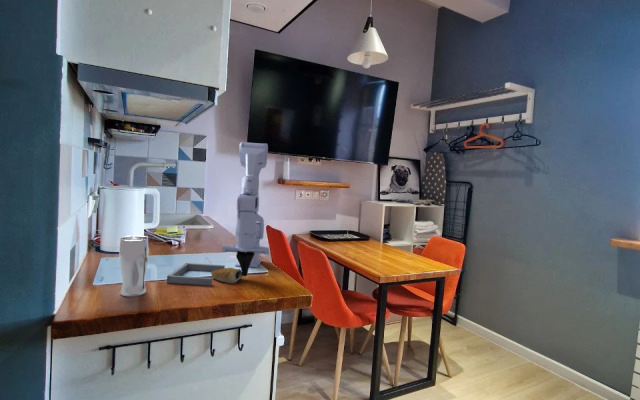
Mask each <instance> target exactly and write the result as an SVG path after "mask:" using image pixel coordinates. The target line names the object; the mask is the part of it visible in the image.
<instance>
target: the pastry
mask: <svg viewBox="0 0 640 400" xmlns="http://www.w3.org/2000/svg"><path fill="white" fill-rule="evenodd" d="M211 278H212V279H214V280H216V281H218V282H219V281H220V282H222V283H226V284H235V283H237V282H238V281H239V280H241V279H242V278H243V276H242V271H241V268H238V269H237V268H234V267H225V268H224V269H219V270H214V271H211Z"/></svg>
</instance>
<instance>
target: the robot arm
mask: <svg viewBox="0 0 640 400" xmlns="http://www.w3.org/2000/svg"><path fill="white" fill-rule="evenodd" d="M268 146H269V145H268V143H258V142H257V143H256V142H247V141H246V142H244V141H241V142H240V143H239V148H238V150H239V151H238V152H239V153H238V154H239V155H238V156H239V163H240V166H241V167H243V168H245V175H244V176H243V177H242V178H241V182H240V190H239V195H238V196H237V199H236V211H237V214H236V215H237V216H236V217H237V218H236V225H235V238H236V244H223V245H221V246H222V247H221V253H236V256H235V257H236V259H237V262H236V263H235V265H234V266H236V267H240V270H241V272H242V277H247V275H248V273H249V269H250V268H258V267H259V266H260V264H261V262H262V261H263V260H262V259H261V258H260V255H267V256H269V254H270V247H266V246H261V245H260V244H261V243H260V240H261V241H262V240H263V239H264V231H265V230H264V229H265V224H264V222H265V219H264V218H263V217H262V216H261V215H260V214H259V213H258V212H259V211H260V210H259V208H260V197H259V190H260V173H261V170H262V169H264V168H267V164H268V163H267V161H268V153H269V152H268V150H269V147H268ZM258 265H259V266H258Z"/></svg>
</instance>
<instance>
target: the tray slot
mask: <svg viewBox="0 0 640 400" xmlns="http://www.w3.org/2000/svg"><path fill="white" fill-rule="evenodd" d="M224 268H226V267H225V265H221V264H207V263H190V262H185V263H184V264H183V265H181V266H179V267H178V268H177V269H175V270H174V271H172V272H171V273H169V274H168V275H167V276H166V283H167V284H180V285H193V286H194V285H196V286H208V287H209V286H212V285H213V277H200V276H184V275H183V274H184V273H185V272H187V271H199V272H200V271H203V272H212V271H214V270H219V269H224Z"/></svg>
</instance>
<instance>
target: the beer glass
mask: <svg viewBox="0 0 640 400" xmlns="http://www.w3.org/2000/svg"><path fill="white" fill-rule="evenodd" d="M119 239H120V240H119V252H118V253H119V255H118V257H119V258H118V259H119V266H120V271H121V277H122V284H121V289H120V295H121V296H122V297H129V298H132V297H134V298H135V297H139V296H143V295H145V294H146V292H147V288H146V284H145V283H146V282H145V277H146V271H147V267H148V261H149V250H150V249H149V237H148V236H145V235H144V236H143V235H126V236H123V237H121V238H119Z"/></svg>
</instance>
